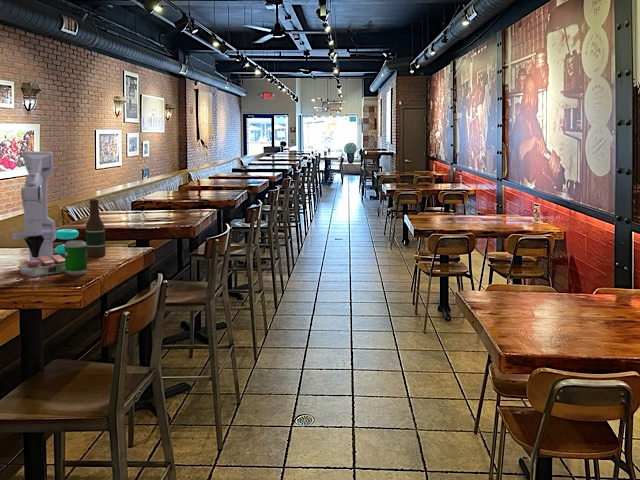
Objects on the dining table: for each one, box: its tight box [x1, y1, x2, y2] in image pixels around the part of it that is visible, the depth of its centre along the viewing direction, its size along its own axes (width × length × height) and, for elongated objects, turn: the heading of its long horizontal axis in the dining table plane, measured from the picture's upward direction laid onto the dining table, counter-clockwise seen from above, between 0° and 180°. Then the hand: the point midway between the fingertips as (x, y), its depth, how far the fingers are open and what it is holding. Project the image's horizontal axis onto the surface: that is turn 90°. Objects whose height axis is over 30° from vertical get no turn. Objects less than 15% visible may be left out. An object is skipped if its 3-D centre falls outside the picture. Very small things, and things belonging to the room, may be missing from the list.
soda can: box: [64, 239, 88, 276], centre depth 240 cm, size 8×8×12 cm
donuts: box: [54, 228, 80, 255], centre depth 284 cm, size 10×10×10 cm
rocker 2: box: [38, 256, 54, 265], centre depth 242 cm, size 6×3×1 cm, turn 50°
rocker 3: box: [51, 254, 65, 263], centre depth 246 cm, size 6×3×1 cm, turn 50°
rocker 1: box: [24, 259, 41, 265], centre depth 238 cm, size 6×3×1 cm, turn 49°
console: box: [19, 260, 66, 278], centre depth 242 cm, size 9×15×4 cm, turn 139°
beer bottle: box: [85, 198, 107, 258], centre depth 277 cm, size 8×8×24 cm
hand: (35, 257), depth 237 cm, fingers closed
